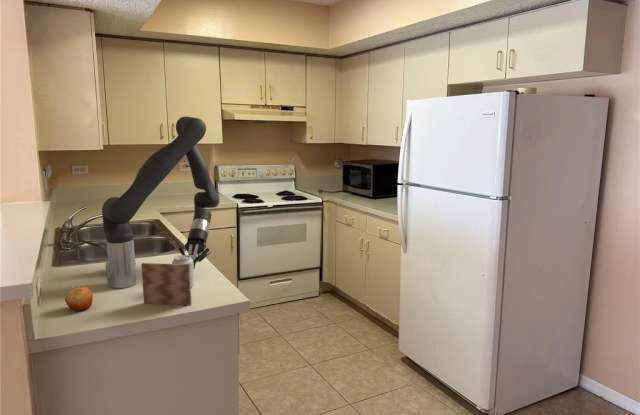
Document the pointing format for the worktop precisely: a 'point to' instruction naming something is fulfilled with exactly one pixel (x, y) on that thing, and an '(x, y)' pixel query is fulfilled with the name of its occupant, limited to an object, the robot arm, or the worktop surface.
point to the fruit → (79, 298)
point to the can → (186, 260)
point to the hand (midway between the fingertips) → (189, 270)
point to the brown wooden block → (166, 283)
